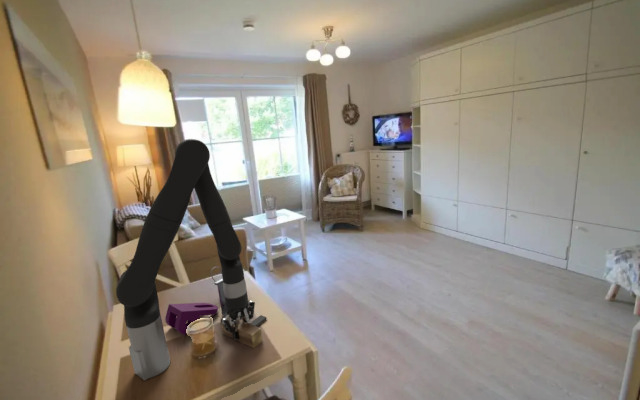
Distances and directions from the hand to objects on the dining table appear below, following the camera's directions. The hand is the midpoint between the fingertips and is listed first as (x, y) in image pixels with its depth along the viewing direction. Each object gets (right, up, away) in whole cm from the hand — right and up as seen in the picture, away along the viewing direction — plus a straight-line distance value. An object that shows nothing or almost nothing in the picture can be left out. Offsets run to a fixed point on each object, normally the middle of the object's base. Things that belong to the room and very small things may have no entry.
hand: (241, 335), depth 109 cm
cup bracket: (-7, +2, +15) cm, 17 cm away
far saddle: (+4, +1, +8) cm, 9 cm away
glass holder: (-14, +6, +33) cm, 36 cm away
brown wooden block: (0, -1, 0) cm, 1 cm away
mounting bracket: (-21, 0, +12) cm, 24 cm away
